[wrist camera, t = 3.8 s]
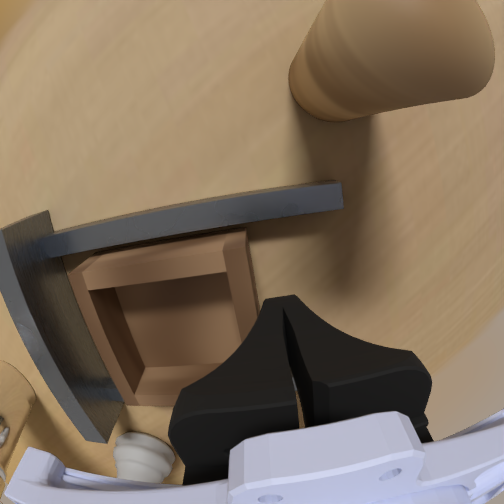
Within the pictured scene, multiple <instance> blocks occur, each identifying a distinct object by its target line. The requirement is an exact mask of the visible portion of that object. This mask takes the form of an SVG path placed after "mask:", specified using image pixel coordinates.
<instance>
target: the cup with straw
mask: <svg viewBox="0 0 504 504" xmlns="http://www.w3.org/2000/svg"><path fill="white" fill-rule="evenodd" d="M35 402H36V396H35V393H34V391H33V389H32V387H31V385H30V384H29V382H28V381H27V380H26V379H25V377H24V376H23V375H22V374H21V373H20V372H19V371H18V370H17V369H15V368H14V367H13V366H12V365H10V364H9V363H7V362H5V361H2V360H0V499H1V496H2V493H3V490H4V487H5V480H6V477H7V472H6V471H7V468H8V466H9V463H10V460H11V458H12V455H13V452H14V450H15V447H16V445H17V443H18V440H19V438H20V435H21V433H22V431H23V428H24V426H25V424H26V422H27V419H28V417H29V415H30V413H31V406H32V405H33V404H35ZM0 504H3V503H2V502H1V501H0Z"/></svg>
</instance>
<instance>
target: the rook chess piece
mask: <svg viewBox="0 0 504 504" xmlns="http://www.w3.org/2000/svg"><path fill="white" fill-rule="evenodd" d="M116 445H117V446H116V447H114V451H113V457H114V459H115V461H116V464H115V467H116V468H117V478H119V479H126V480H133V481H141V482H150V483H162V482H163V480H164V478H165V477H167V476H168V475H169V474H170V472H171V470H172V469H173V468H172V465H171V464H173V462H174V461H175V456H174V453H173V451H172V450H171V448H170V447H169V446H168V445H167V444H166V443H165V442H164V441H162V440H160V439H159V438H157V437H155V436H152V435H149V434H146V433H141V432H127V433H125V434H123V435H121V436H119V437H117V439H116Z"/></svg>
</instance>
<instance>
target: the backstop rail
mask: <svg viewBox="0 0 504 504" xmlns="http://www.w3.org/2000/svg"><path fill="white" fill-rule="evenodd" d="M338 209H344V206H343V195H342V185H341V182H338V181H336V180H330V181H321V182H313V183H305V184H298V185H290V186H283V187H276V188H269V189H262V190H256V191H249V192H243V193H236V194H230V195H224V196H218V197H213V198H207V199H201V200H196V201H190V202H185V203H180V204H174V205H169V206H164V207H159V208H154V209H149V210H145V211H140V212H135V213H130V214H126V215H121V216H117V217H112V218H108V219H104V220H99V221H95V222H91V223H87V224H83V225H79V226H74V227H70V228H67V229H63V230H59V231H55V232H53V228H52V224H51V221H50V217H49V213H48V210H46V211H43V212H40V213H37V214H34V215H31V216H28V217H26V218H23V219H21V220H19V221H16V222H14V223H12V224H9V225H7V226H5V227H3V228H1V229H0V291H1V293H2V296H3V298H4V301H5V303H6V306H7V308H8V310H9V313H10V315H11V317H12V319H13V322H14V324H15V326H16V328H17V330H18V332H19V334H20V336H21V338H22V340H23V342H24V344H25V346H26V348H27V350H28V352H29V354H30V356H31V358H32V360H33V361H34V363H35V365H36V367H37V369H38V370H39V372H40V374H41V375H42V377H43V379H44V380H45V382H46V384H47V385H48V387H49V389H50V390H51V392H52V393H53V395H54V396H55V398H56V400H57V401H58V403H59V404H60V406H61V407H62V408H63V410H64V411H65V413H66V414H67V416H68V417H69V419H70V420H71V421H72V423H73V424H74V425H75V427H76V428H77V429H78V431H79V432H80V433H81V435H82V436H83V437H84V439H85V440H86V441H91V442H98V443H105V444H107V443H108V441H109V438H110V435H111V433H112V430H113V428H114V425H115V423H116V421H117V418H118V416H119V413H120V411H121V408H122V406H123V404H124V400H123V398H122V396H121V394H120V393H119V391H118V389H117V387H116V385H115V383H114V381H113V379H112V378H111V377H110V375H109V373H108V371H107V369H106V367H105V365H104V363H103V361H102V359H101V357H100V355H99V353H98V351H97V349H96V346H95V344H94V342H93V340H92V338H91V335H90V333H89V331H88V329H87V326H86V324H85V322H84V319H83V317H82V314H81V312H80V309H79V307H78V304H77V302H76V299H75V296H74V294H73V291H72V288H71V286H70V283H69V280H68V277H67V274H66V271H65V268H64V265H63V262H62V259H61V256H62V255H67V254H72V253H77V252H82V251H87V250H92V249H98V248H103V247H108V246H113V245H119V244H124V243H129V242H135V241H140V240H146V239H151V238H157V237H163V236H168V235H174V234H180V233H186V232H192V231H198V230H204V229H210V228H216V227H222V226H228V225H234V224H241V223H247V222H254V221H260V220H267V219H274V218H280V217H287V216H294V215H301V214H308V213H315V212H323V211H330V210H338ZM290 371H291V368H290ZM291 375H292V380H293V384H294V388H295V391H297V388H296V385H295V381H294V378H293V374H292V371H291Z"/></svg>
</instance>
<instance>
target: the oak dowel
mask: <svg viewBox="0 0 504 504" xmlns="http://www.w3.org/2000/svg"><path fill="white" fill-rule="evenodd" d="M494 62H495V48H494V41H493V37H492V33H491V30H490V27H489V24H488V22H487V19H486V17H485V15H484V13H483V11H482V9H481V8H480V6H479V4H478V3H477V1H476V0H326V1H325V3H324V5H323V7H322V8H321V10H320V12H319V14H318V16H317V17H316V19H315V21H314V23H313V24H312V26H311V28H310V30H309V32H308V34H307V35H306V37H305V39H304V41H303V43H302V45H301V46H300V48H299V50H298V52H297V54H296V56H295V58H294V60H293V61H292V63H291V66H290V69H289V86H290V90H291V92H292V95H293V96H294V98H295V100H296V101H297V103H298V104H299V105H300V106H301V107H302V108H303V109H304V110H305V111H306V112H307V113H309V114H310V115H312V116H314V117H316V118H318V119H321V120H324V121H328V122H343V121H347V120H351V119H355V118H360V117H364V116H368V115H373V114H377V113H382V112H387V111H392V110H397V109H402V108H407V107H412V106H418V105H424V104H429V103H436V102H442V101H449V100H456V99H463V98H468V97H471V96H473V95H475V94H477V93H478V92H480V91H481V90H482V89H483V88H484V87H485V86H486V85H487V83H488V82H489V80H490V78H491V75H492V73H493V69H494Z"/></svg>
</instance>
